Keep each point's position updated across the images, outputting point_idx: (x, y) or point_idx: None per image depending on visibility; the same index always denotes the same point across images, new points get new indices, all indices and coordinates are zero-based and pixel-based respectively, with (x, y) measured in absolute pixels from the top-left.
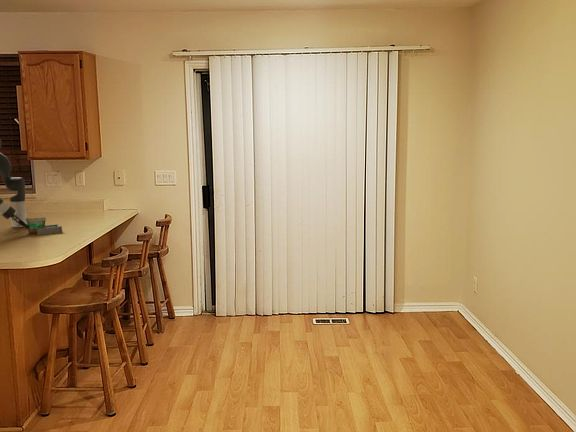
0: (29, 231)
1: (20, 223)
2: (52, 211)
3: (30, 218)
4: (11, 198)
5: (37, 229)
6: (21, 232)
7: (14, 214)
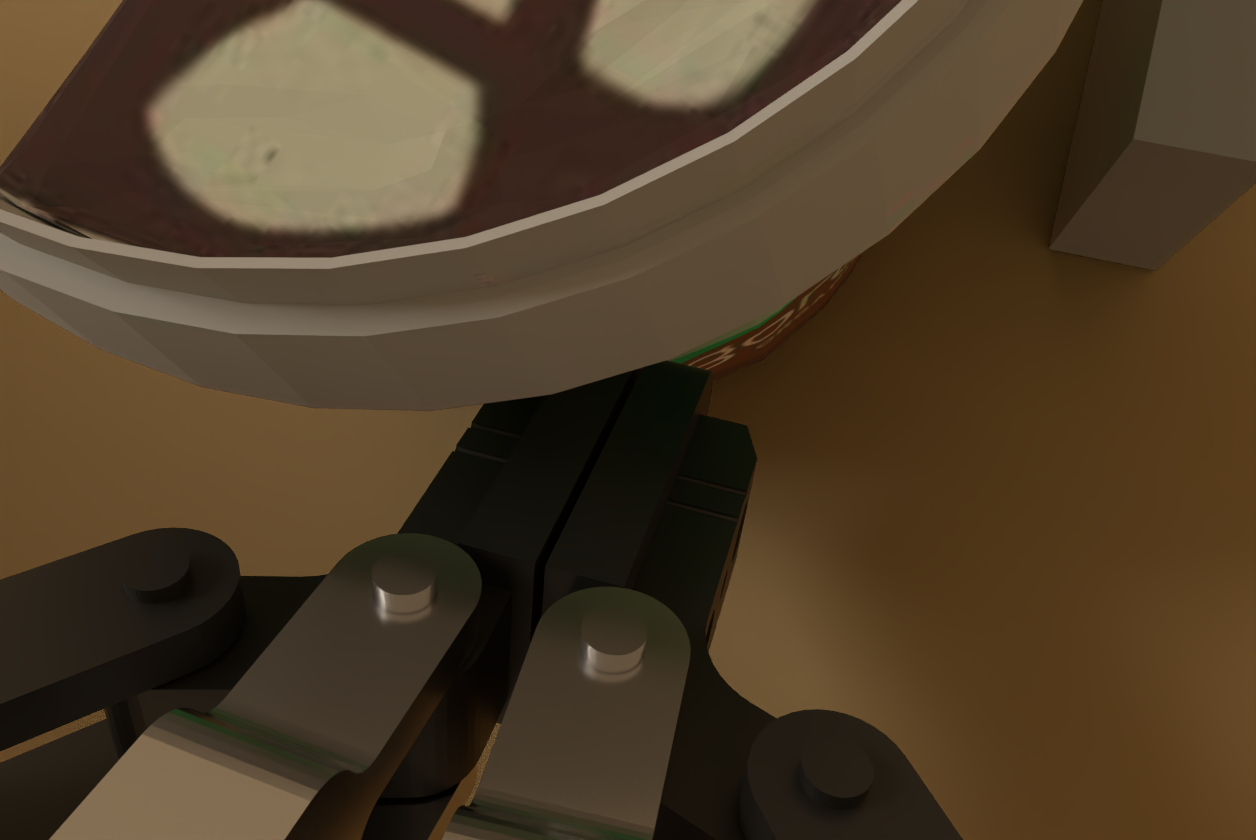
0: None
1: (404, 834)
2: None
3: (821, 85)
4: None
5: (1253, 164)
6: (2, 505)
7: None
